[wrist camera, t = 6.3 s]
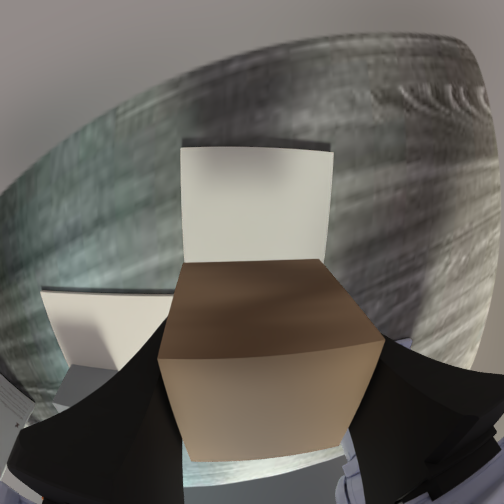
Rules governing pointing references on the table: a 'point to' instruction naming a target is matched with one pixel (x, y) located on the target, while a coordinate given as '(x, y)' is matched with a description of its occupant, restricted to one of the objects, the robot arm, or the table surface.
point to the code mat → (104, 325)
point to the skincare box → (11, 418)
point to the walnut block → (264, 358)
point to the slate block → (80, 385)
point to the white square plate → (254, 203)
